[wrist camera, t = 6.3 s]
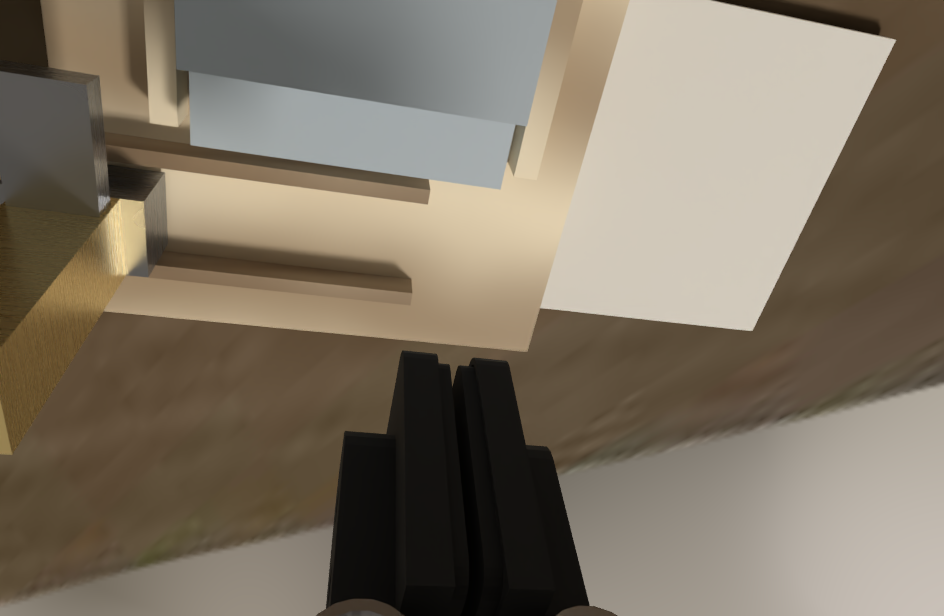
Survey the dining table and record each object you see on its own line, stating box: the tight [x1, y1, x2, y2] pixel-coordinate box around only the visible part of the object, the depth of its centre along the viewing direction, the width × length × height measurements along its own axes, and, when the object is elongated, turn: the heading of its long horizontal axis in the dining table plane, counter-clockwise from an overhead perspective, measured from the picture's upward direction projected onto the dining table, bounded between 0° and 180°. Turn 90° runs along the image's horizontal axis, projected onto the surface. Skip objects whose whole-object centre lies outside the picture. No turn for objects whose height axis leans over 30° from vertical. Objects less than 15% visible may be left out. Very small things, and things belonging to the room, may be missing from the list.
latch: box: [0, 60, 168, 455], centre depth 13 cm, size 5×3×8 cm, turn 169°
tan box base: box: [40, 0, 630, 352], centre depth 17 cm, size 16×13×5 cm
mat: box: [540, 0, 896, 331], centre depth 23 cm, size 11×9×1 cm
